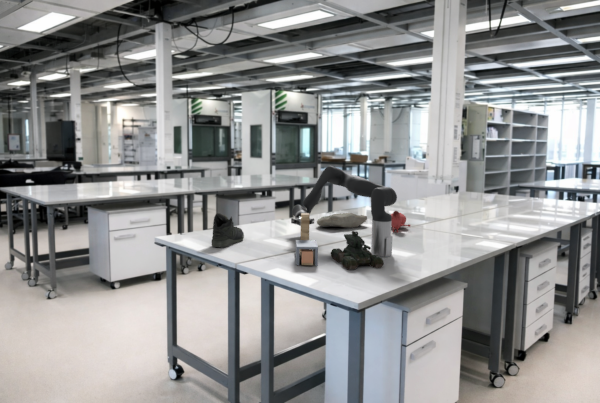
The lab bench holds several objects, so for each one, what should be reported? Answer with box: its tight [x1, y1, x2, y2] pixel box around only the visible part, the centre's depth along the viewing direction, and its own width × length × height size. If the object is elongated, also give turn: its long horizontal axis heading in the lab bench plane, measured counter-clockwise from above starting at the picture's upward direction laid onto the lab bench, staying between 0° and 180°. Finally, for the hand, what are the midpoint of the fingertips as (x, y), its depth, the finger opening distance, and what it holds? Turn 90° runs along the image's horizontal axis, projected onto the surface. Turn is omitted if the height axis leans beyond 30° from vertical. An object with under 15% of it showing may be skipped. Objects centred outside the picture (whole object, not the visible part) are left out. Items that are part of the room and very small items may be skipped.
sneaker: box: [211, 212, 245, 248], centre depth 255 cm, size 12×29×17 cm, turn 167°
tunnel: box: [295, 239, 319, 267], centre depth 218 cm, size 14×9×8 cm
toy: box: [390, 210, 411, 233], centre depth 302 cm, size 18×17×30 cm
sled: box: [299, 213, 314, 266], centre depth 222 cm, size 27×5×19 cm, turn 2°
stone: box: [316, 212, 368, 229], centre depth 306 cm, size 33×9×20 cm
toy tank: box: [330, 230, 385, 271], centre depth 217 cm, size 17×27×14 cm, turn 15°
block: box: [300, 249, 314, 264], centre depth 212 cm, size 5×5×5 cm
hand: (303, 224), depth 245 cm, fingers closed
